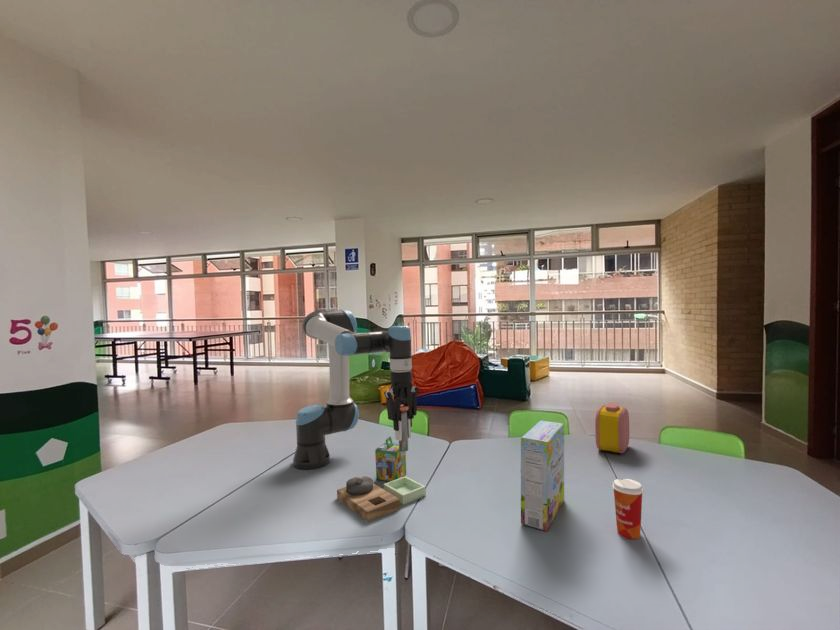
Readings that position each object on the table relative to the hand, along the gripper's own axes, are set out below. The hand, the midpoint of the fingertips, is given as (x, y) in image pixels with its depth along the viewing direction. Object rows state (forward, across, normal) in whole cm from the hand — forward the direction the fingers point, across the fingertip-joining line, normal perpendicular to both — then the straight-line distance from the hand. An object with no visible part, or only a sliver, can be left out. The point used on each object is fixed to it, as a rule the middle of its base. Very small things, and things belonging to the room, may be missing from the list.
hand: (403, 438), depth 136 cm
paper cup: (+20, +32, -61) cm, 71 cm away
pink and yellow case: (+20, +94, -28) cm, 100 cm away
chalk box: (+20, +5, +15) cm, 25 cm away
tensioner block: (+19, -13, +3) cm, 24 cm away
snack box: (+20, +25, -39) cm, 50 cm away
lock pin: (+4, 0, 0) cm, 4 cm away
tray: (+19, 0, 0) cm, 19 cm away
